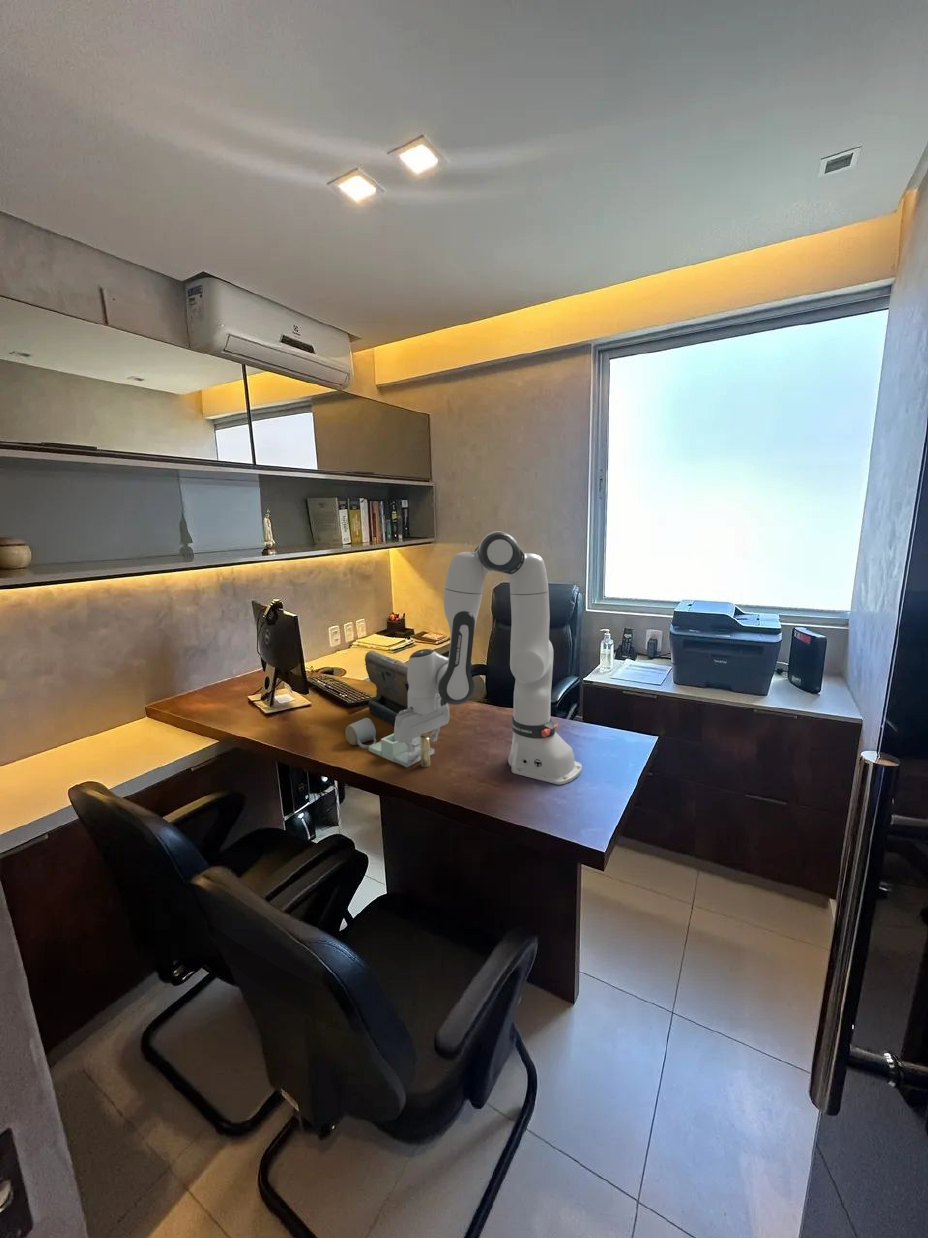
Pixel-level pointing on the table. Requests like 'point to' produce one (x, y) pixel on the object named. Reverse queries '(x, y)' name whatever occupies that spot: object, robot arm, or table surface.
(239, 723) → the table surface
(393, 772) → the table surface
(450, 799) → the table surface
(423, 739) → the hinge pin
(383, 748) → the green square socket base
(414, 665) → the robot arm
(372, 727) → the ceramic mug
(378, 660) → the tablet
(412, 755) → the sliding leaf
